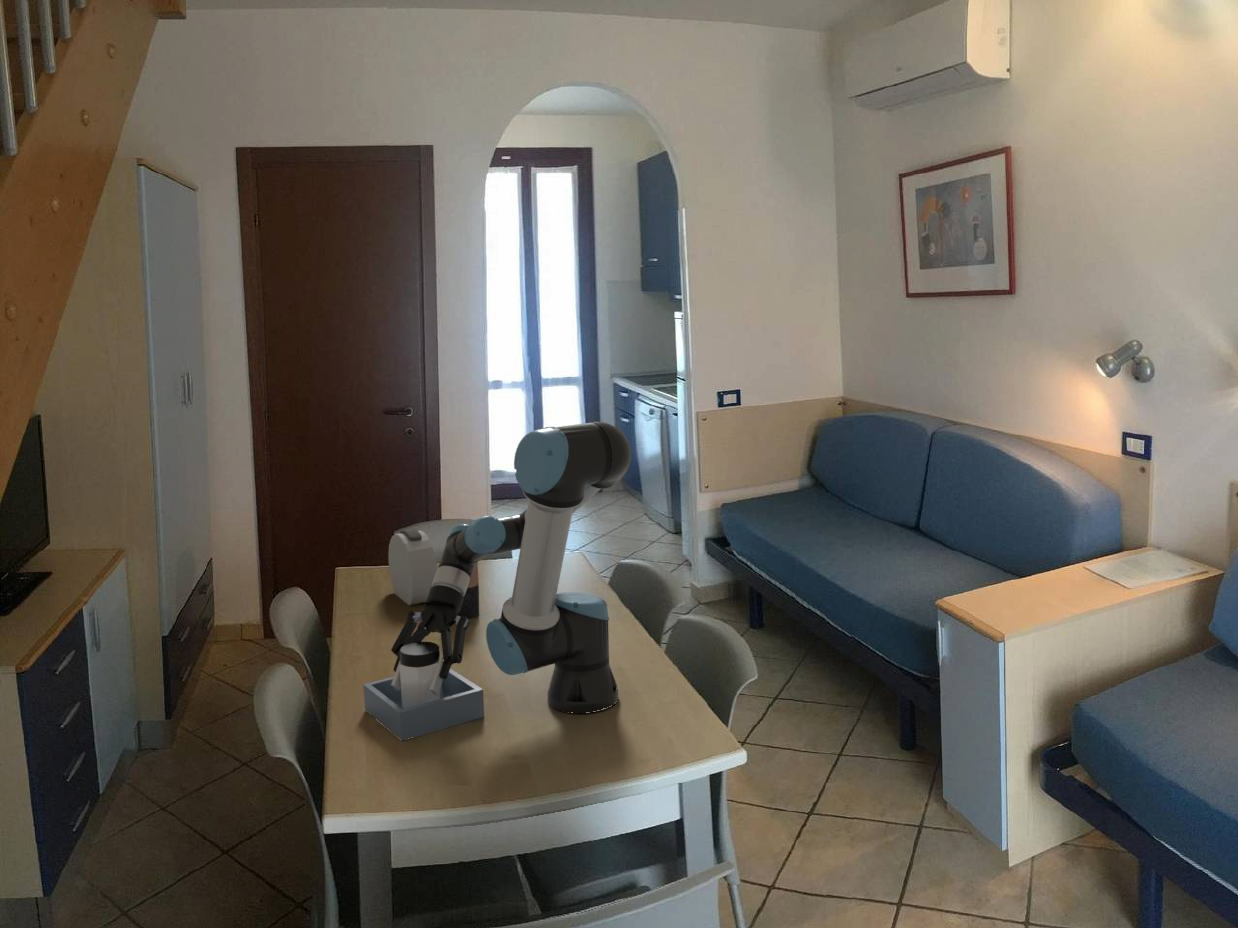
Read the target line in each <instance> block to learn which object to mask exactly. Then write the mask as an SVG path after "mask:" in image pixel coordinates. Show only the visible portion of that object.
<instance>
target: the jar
mask: <svg viewBox="0 0 1238 928" xmlns="http://www.w3.org/2000/svg"><path fill="white" fill-rule="evenodd" d="M441 659H442V658H441V652H440V646H439V644H437V643H435V642H432V641H421V642H414V643H410V644H407V645H404V646H403V647H401V649H400V662H401V663H400V681H401V697H402V707H403V708H410V707H413V706H417V705H421V704H424V703H428V702H431V701H435V700H438V699H442V697H443V696H442V684H441V687H440V690H439V693H438V695H434V694H433V693H432V692H431V691H430V690H429V689H430V686H431V683H432V680H433V677H434V674H435V671H436V668H437V666H438V662H439V660H441Z"/></svg>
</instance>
